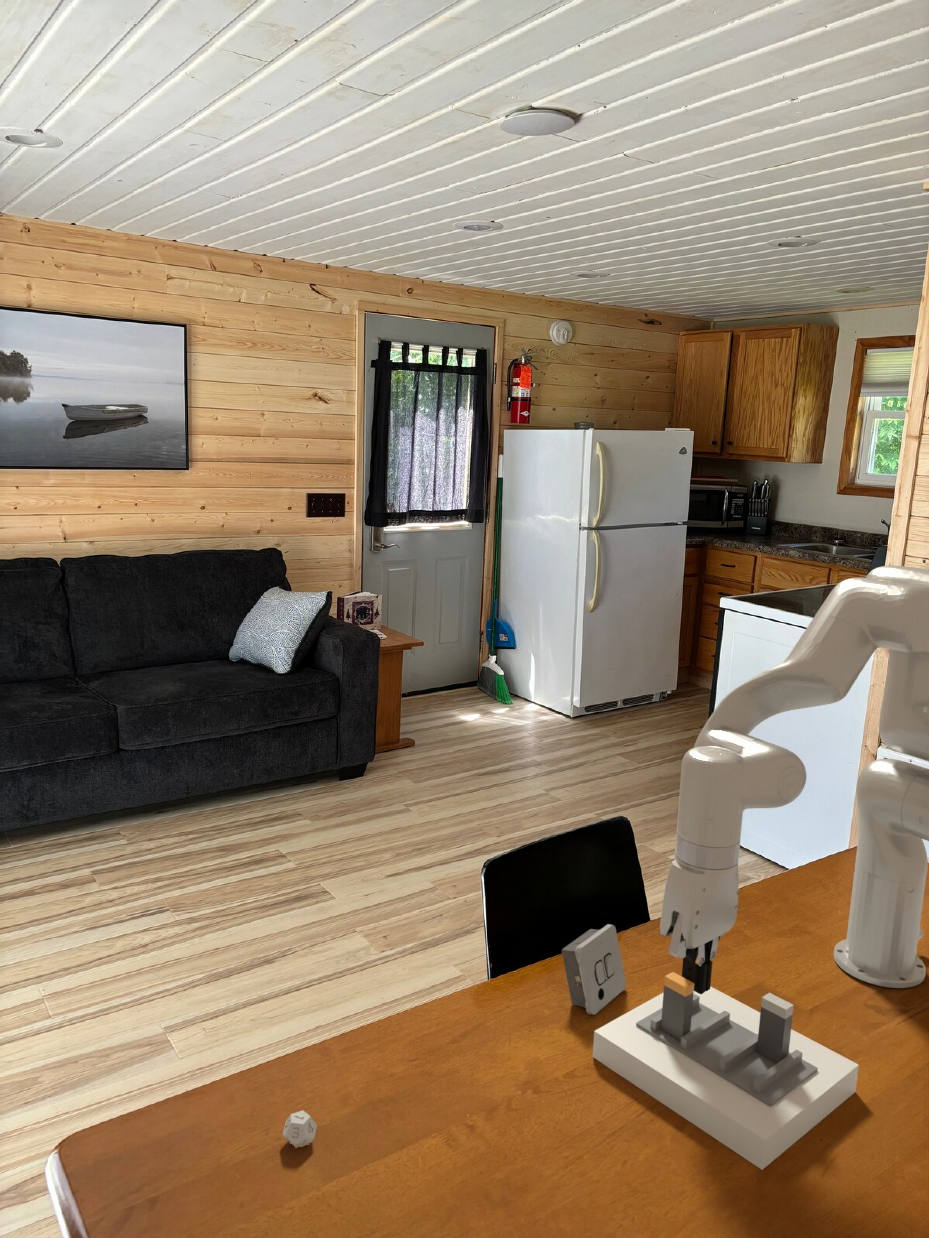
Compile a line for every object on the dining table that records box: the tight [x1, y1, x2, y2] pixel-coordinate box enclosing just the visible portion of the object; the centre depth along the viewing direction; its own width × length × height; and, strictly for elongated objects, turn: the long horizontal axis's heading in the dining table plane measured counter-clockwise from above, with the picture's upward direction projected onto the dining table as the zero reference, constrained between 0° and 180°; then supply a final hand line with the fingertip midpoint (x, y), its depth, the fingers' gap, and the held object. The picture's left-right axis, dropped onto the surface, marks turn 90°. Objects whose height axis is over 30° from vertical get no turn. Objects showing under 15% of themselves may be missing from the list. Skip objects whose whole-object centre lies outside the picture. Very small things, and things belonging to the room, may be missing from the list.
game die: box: [282, 1109, 318, 1147], centre depth 104 cm, size 4×4×3 cm
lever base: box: [592, 985, 860, 1170], centre depth 116 cm, size 20×24×11 cm
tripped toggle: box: [661, 971, 694, 1041], centre depth 118 cm, size 2×3×7 cm, turn 41°
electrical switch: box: [561, 923, 627, 1015], centre depth 132 cm, size 9×5×9 cm, turn 141°
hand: (695, 986), depth 120 cm, fingers closed
